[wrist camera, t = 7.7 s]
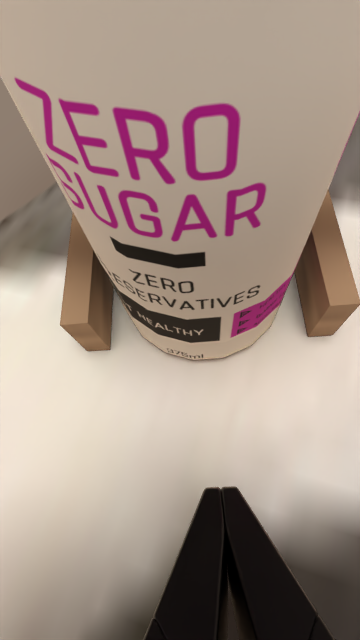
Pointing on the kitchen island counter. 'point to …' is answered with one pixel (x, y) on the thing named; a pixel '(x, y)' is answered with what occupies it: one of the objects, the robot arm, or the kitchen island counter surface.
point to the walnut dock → (311, 271)
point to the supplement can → (189, 145)
